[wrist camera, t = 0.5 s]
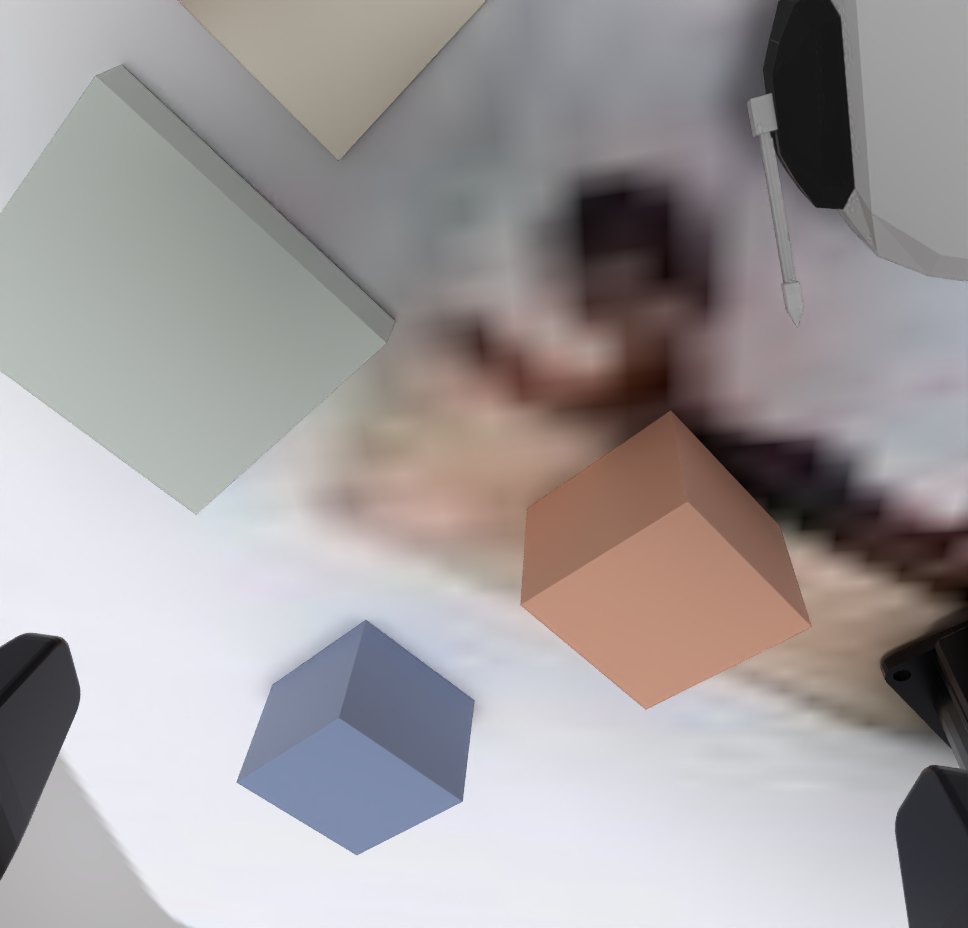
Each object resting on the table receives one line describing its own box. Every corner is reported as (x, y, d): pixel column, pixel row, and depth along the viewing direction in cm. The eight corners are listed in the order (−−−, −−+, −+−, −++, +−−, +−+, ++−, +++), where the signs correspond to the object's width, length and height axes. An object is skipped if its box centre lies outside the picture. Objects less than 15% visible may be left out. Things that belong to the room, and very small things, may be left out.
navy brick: (474, 697, 29) (462, 801, 26) (379, 753, 31) (357, 855, 28) (366, 616, 27) (338, 717, 24) (273, 681, 29) (236, 782, 26)
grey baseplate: (395, 321, 21) (386, 343, 20) (211, 489, 24) (195, 514, 23) (121, 64, 18) (95, 76, 17) (-43, 298, 22) (-72, 317, 21)
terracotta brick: (778, 523, 24) (811, 626, 20) (636, 604, 26) (645, 709, 23) (670, 407, 22) (687, 501, 19) (527, 505, 24) (520, 605, 21)
